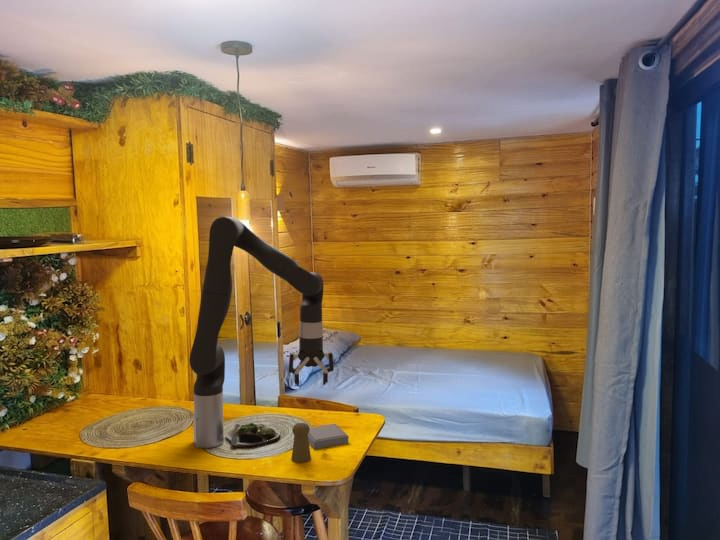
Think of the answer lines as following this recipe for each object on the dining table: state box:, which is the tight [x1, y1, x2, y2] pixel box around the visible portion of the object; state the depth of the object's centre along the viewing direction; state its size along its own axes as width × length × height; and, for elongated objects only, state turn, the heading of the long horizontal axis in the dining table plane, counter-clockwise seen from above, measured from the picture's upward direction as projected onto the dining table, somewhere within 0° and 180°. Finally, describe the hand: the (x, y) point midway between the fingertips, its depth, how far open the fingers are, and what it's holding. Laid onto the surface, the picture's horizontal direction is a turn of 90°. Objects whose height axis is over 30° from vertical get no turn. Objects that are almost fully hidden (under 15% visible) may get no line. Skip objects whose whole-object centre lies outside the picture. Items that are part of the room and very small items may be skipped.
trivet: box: [308, 423, 349, 450], centre depth 183 cm, size 12×12×3 cm
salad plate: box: [225, 422, 281, 449], centre depth 186 cm, size 19×18×5 cm
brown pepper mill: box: [291, 422, 312, 464], centre depth 168 cm, size 6×6×11 cm
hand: (311, 384), depth 175 cm, fingers open, 8 cm apart
